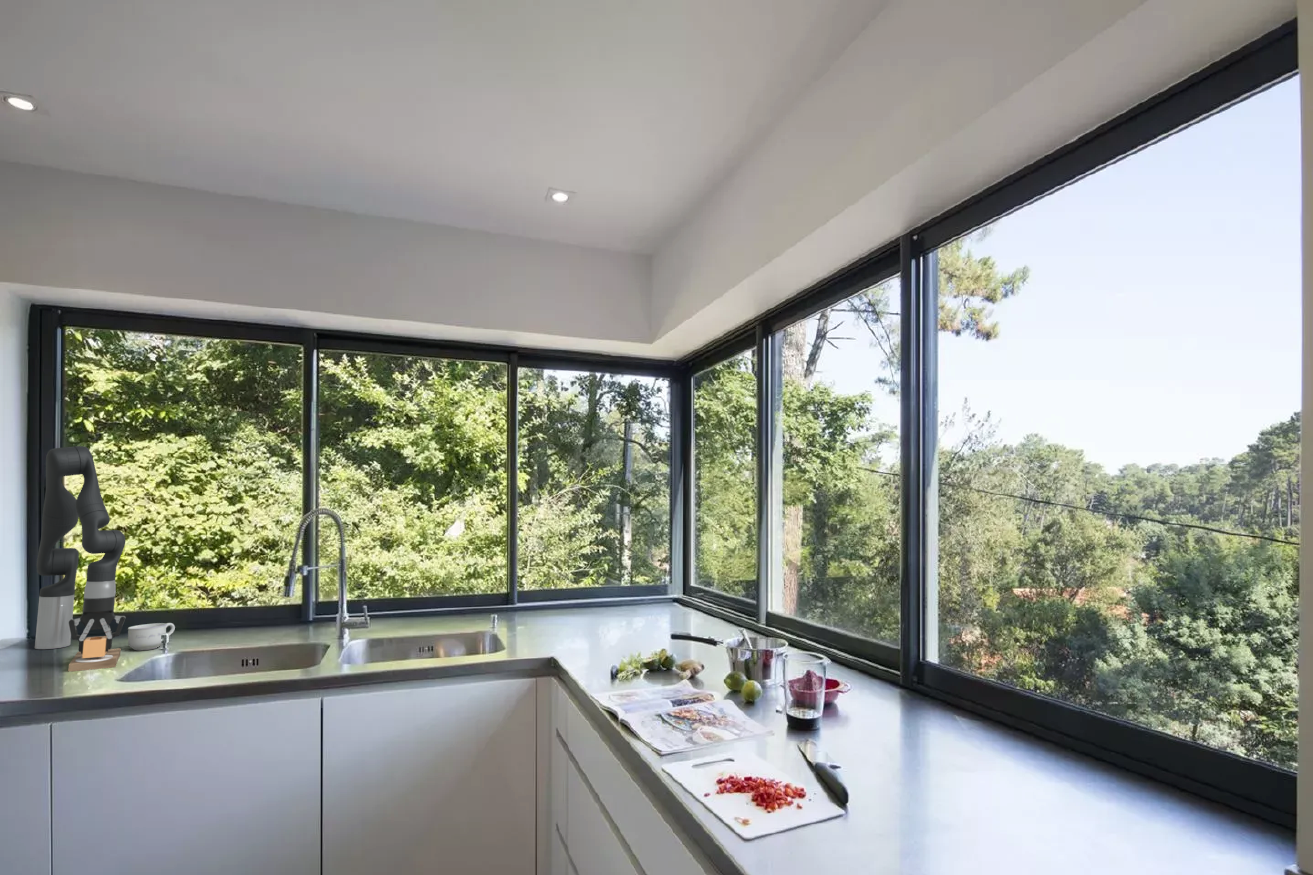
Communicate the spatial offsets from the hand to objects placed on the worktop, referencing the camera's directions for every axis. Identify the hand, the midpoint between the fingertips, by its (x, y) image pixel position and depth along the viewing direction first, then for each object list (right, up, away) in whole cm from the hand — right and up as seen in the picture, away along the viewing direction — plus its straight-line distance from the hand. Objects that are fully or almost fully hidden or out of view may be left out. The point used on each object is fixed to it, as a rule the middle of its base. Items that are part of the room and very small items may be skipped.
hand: (95, 651), depth 214 cm
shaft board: (-3, -5, +4) cm, 7 cm away
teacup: (-1, -7, +25) cm, 26 cm away
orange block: (0, -1, 0) cm, 1 cm away
